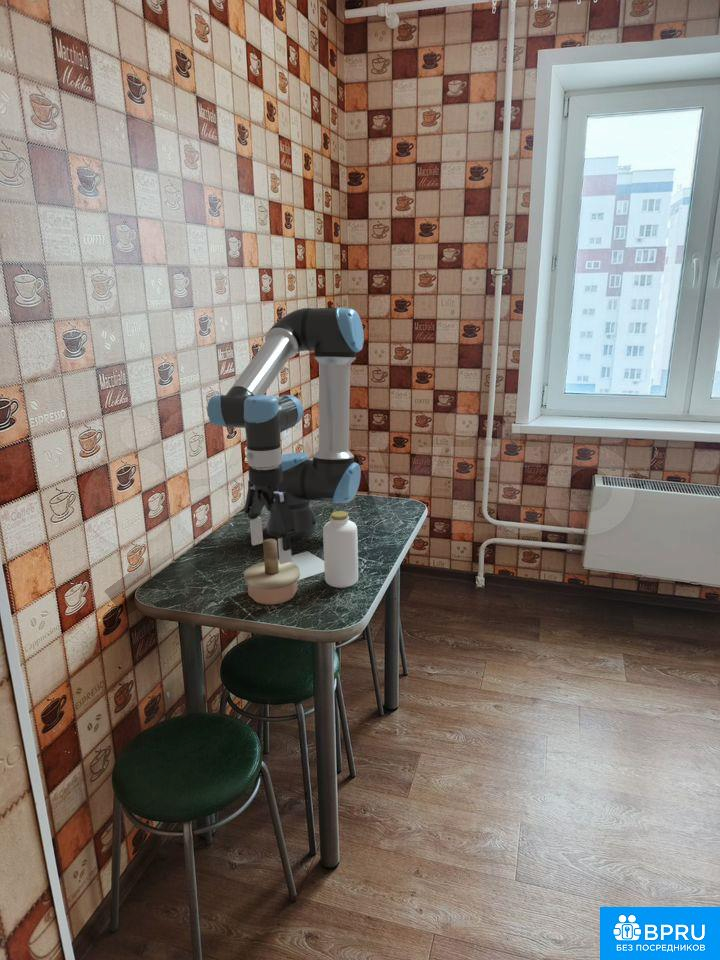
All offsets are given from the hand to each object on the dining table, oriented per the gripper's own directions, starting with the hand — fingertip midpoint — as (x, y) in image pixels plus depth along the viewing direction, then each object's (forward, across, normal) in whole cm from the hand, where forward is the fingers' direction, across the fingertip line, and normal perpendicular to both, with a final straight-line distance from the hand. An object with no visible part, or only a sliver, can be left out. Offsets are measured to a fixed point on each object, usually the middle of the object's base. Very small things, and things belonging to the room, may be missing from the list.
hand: (271, 552), depth 152 cm
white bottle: (+11, +4, +17) cm, 21 cm away
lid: (+6, 0, 0) cm, 6 cm away
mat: (+11, -10, +13) cm, 20 cm away
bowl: (+11, 0, 0) cm, 11 cm away
